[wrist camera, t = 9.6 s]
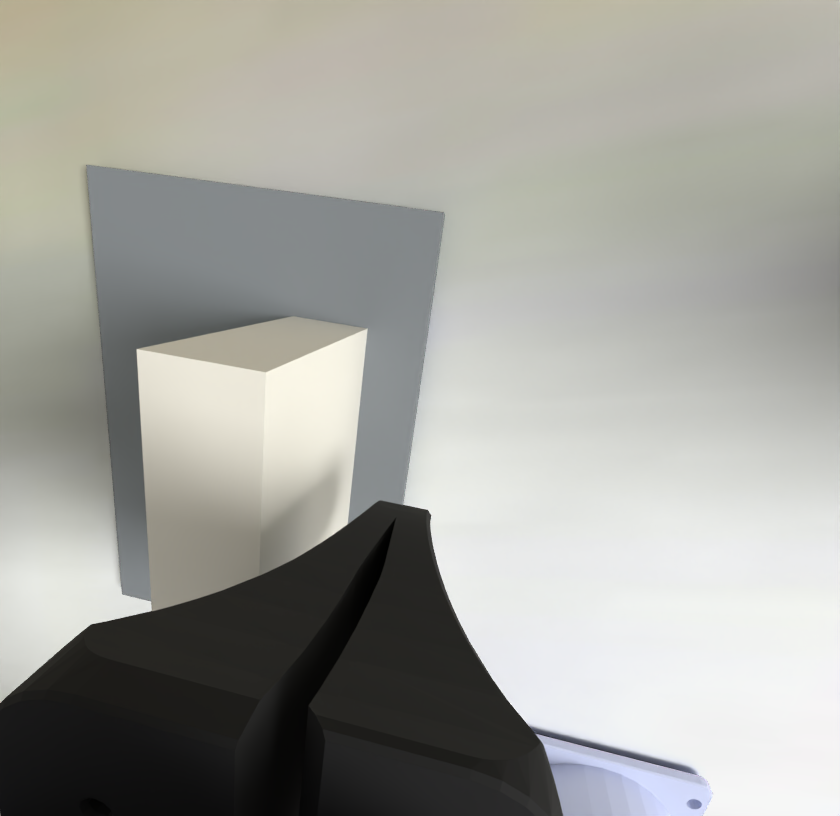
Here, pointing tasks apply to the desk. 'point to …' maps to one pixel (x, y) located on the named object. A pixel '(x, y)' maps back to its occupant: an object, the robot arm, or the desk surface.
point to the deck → (246, 450)
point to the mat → (257, 307)
